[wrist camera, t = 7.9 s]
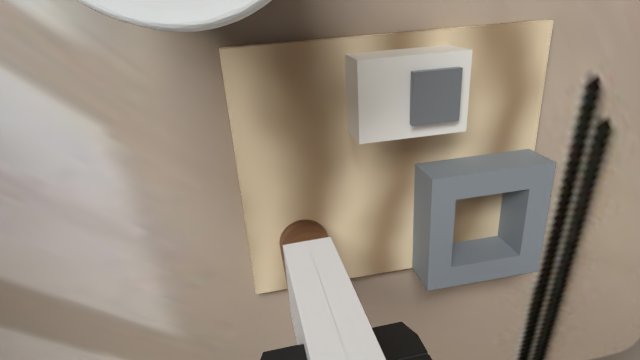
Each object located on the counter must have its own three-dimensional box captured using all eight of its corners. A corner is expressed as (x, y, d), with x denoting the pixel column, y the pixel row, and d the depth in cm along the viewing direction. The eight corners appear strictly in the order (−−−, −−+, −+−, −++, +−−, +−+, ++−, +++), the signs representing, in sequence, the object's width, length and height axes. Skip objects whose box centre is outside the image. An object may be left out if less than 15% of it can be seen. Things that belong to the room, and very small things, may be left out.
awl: (282, 265, 32) (313, 440, 19) (277, 223, 31) (308, 382, 18) (329, 257, 33) (390, 423, 20) (326, 216, 31) (390, 365, 18)
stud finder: (347, 130, 29) (361, 146, 26) (344, 54, 27) (359, 61, 24) (445, 119, 30) (470, 133, 27) (449, 44, 28) (476, 50, 25)
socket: (412, 268, 34) (427, 290, 32) (414, 163, 31) (432, 179, 28) (514, 250, 36) (537, 271, 33) (528, 148, 32) (556, 162, 29)
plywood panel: (255, 286, 33) (256, 294, 33) (219, 47, 26) (218, 49, 25) (513, 243, 37) (520, 249, 36) (543, 19, 29) (553, 20, 29)
